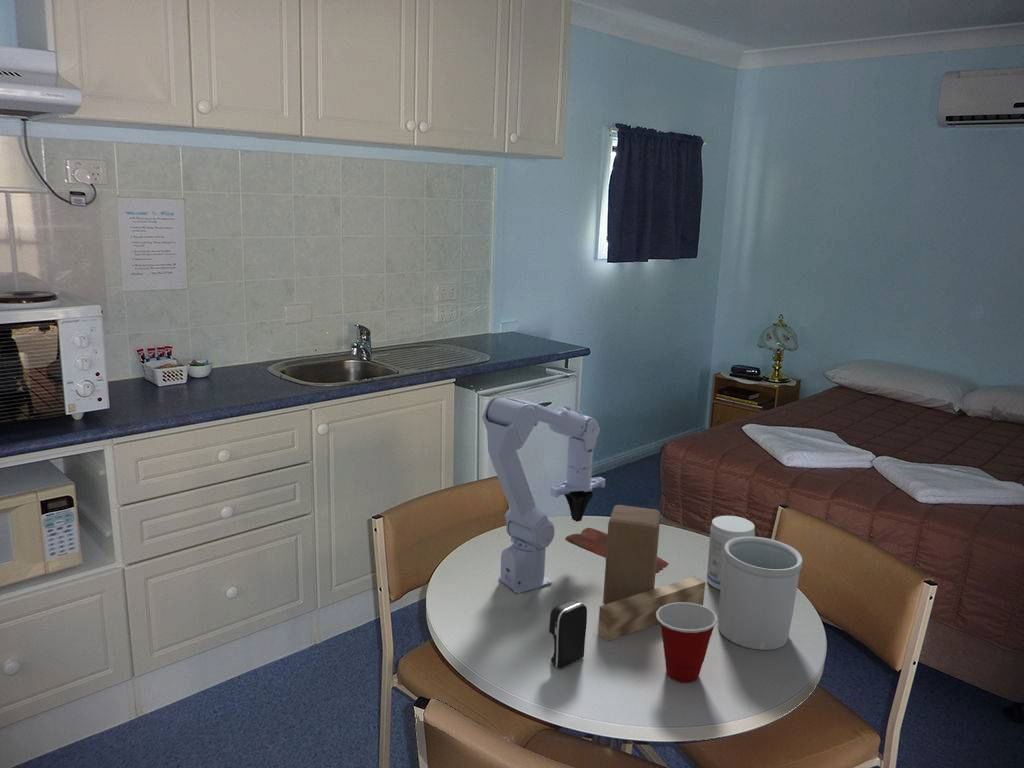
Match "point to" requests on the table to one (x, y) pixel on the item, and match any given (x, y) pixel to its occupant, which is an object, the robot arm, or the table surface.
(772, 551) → the utensil holder
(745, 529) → the supplement tub
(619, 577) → the block
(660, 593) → the board
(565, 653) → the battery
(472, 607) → the table surface
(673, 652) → the plastic cup
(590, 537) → the wooden tablet
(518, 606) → the table surface
